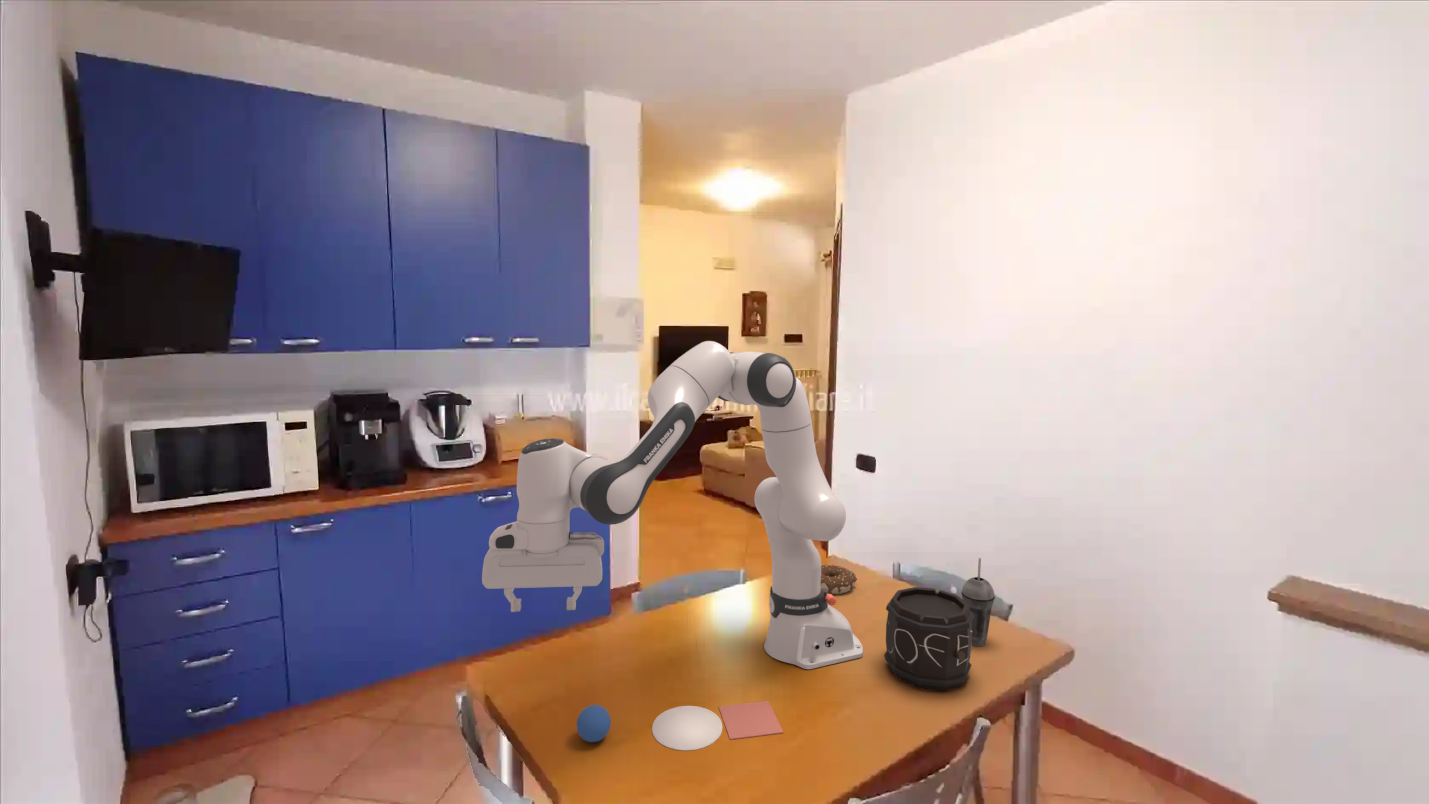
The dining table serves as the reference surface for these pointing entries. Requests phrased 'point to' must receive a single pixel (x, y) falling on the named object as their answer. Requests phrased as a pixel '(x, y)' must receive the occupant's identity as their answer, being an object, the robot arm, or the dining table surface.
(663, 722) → the disc
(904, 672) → the wooden barrel
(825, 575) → the donut
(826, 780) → the dining table surface
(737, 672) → the dining table surface
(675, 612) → the dining table surface
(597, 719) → the ball
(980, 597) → the beverage cup
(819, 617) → the robot arm
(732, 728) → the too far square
